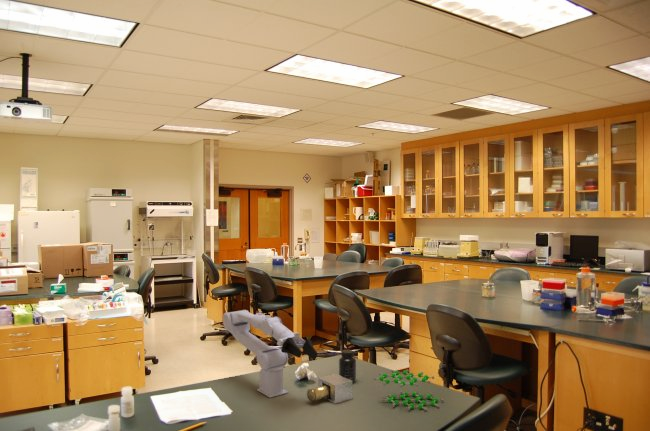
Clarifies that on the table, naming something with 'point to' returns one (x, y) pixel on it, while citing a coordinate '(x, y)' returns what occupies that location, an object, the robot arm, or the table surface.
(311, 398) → the amber cylinder
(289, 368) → the table surface
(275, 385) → the robot arm
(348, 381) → the housing
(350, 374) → the supplement bottle
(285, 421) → the table surface
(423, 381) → the molecule models
